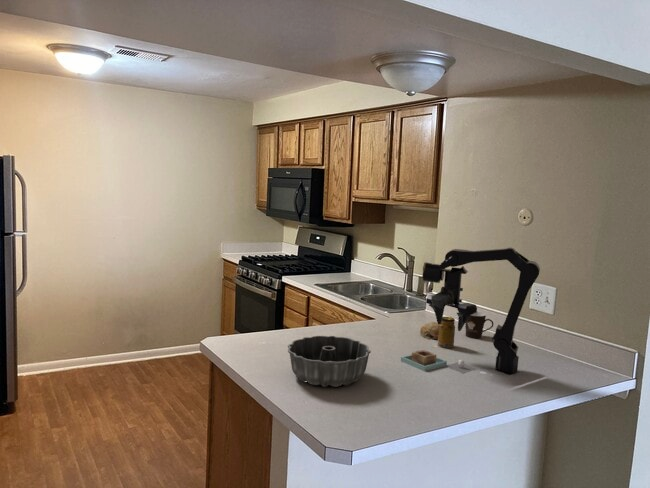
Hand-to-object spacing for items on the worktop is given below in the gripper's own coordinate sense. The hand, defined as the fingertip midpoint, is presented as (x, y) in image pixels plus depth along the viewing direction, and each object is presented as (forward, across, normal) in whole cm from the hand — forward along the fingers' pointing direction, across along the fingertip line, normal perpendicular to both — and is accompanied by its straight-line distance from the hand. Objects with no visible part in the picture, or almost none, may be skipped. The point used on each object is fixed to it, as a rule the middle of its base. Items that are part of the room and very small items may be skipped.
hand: (449, 327), depth 186 cm
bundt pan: (+13, -9, -47) cm, 50 cm away
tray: (+12, -2, -10) cm, 16 cm away
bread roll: (+13, -24, +19) cm, 34 cm away
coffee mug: (+13, -14, +35) cm, 40 cm away
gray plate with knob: (+12, +8, -2) cm, 15 cm away
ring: (+12, -2, -10) cm, 16 cm away
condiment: (+13, -10, +12) cm, 20 cm away
